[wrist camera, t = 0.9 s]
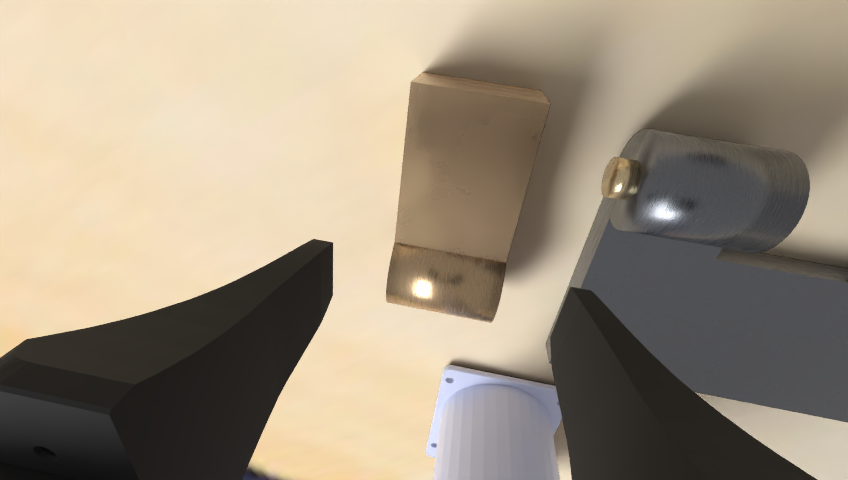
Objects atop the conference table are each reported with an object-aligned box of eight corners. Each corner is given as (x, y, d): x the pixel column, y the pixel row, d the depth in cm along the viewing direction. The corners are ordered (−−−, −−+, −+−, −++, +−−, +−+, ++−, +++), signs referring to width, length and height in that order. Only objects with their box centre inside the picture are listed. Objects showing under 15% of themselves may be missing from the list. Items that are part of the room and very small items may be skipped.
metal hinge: (866, 406, 22) (937, 479, 18) (532, 340, 23) (539, 398, 19) (1101, 191, 15) (1283, 243, 12) (614, 115, 16) (649, 141, 13)
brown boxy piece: (488, 289, 22) (488, 340, 18) (400, 272, 22) (383, 319, 18) (540, 90, 16) (554, 109, 13) (423, 72, 17) (405, 85, 13)
